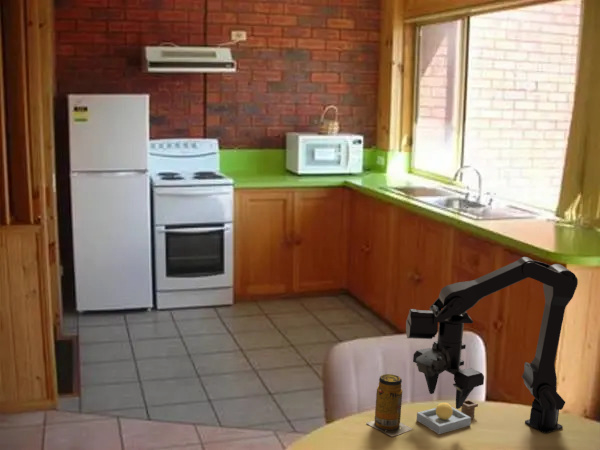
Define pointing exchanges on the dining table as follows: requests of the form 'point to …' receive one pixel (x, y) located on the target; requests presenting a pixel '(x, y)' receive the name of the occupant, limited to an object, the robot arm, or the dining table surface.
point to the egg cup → (469, 408)
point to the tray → (440, 425)
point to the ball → (444, 411)
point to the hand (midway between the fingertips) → (444, 400)
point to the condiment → (389, 406)
